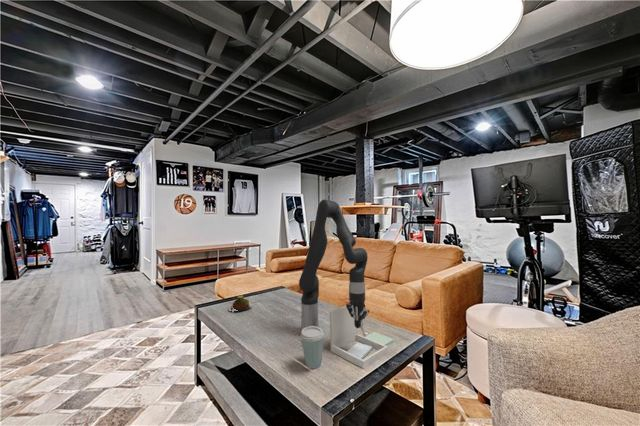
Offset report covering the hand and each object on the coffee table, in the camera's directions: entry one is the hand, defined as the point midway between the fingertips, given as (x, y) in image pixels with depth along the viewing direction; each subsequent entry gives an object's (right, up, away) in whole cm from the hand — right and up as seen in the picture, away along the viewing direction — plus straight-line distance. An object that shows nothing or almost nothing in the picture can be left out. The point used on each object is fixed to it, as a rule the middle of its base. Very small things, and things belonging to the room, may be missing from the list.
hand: (357, 327), depth 124 cm
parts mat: (+12, -12, +10) cm, 19 cm away
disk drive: (+2, -12, +27) cm, 30 cm away
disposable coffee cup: (-21, -13, -9) cm, 26 cm away
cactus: (-75, -15, +64) cm, 100 cm away
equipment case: (+1, -12, 0) cm, 12 cm away
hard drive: (-3, -11, -6) cm, 13 cm away
